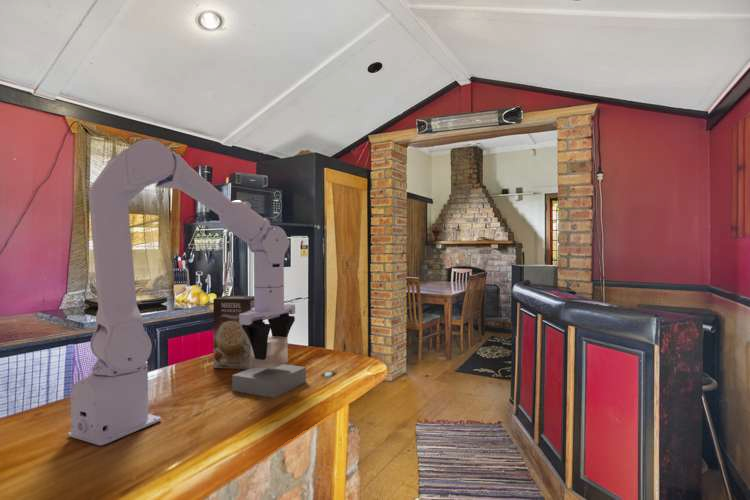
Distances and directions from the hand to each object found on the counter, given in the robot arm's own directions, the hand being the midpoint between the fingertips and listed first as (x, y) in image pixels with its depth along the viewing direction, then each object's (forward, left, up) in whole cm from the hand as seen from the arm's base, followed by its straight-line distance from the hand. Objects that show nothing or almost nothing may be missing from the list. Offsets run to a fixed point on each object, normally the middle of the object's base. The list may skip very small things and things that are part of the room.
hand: (269, 355), depth 81 cm
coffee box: (+9, +17, -6) cm, 20 cm away
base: (0, 0, -6) cm, 6 cm away
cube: (0, 0, -2) cm, 2 cm away
